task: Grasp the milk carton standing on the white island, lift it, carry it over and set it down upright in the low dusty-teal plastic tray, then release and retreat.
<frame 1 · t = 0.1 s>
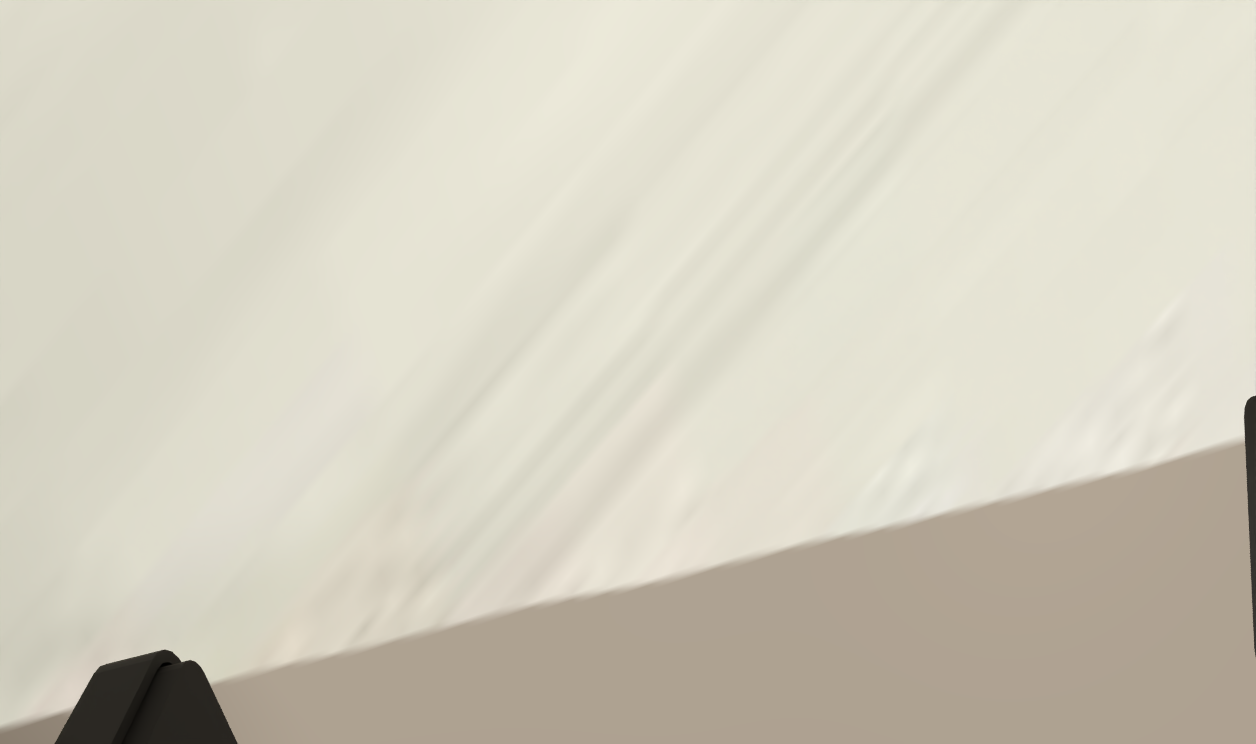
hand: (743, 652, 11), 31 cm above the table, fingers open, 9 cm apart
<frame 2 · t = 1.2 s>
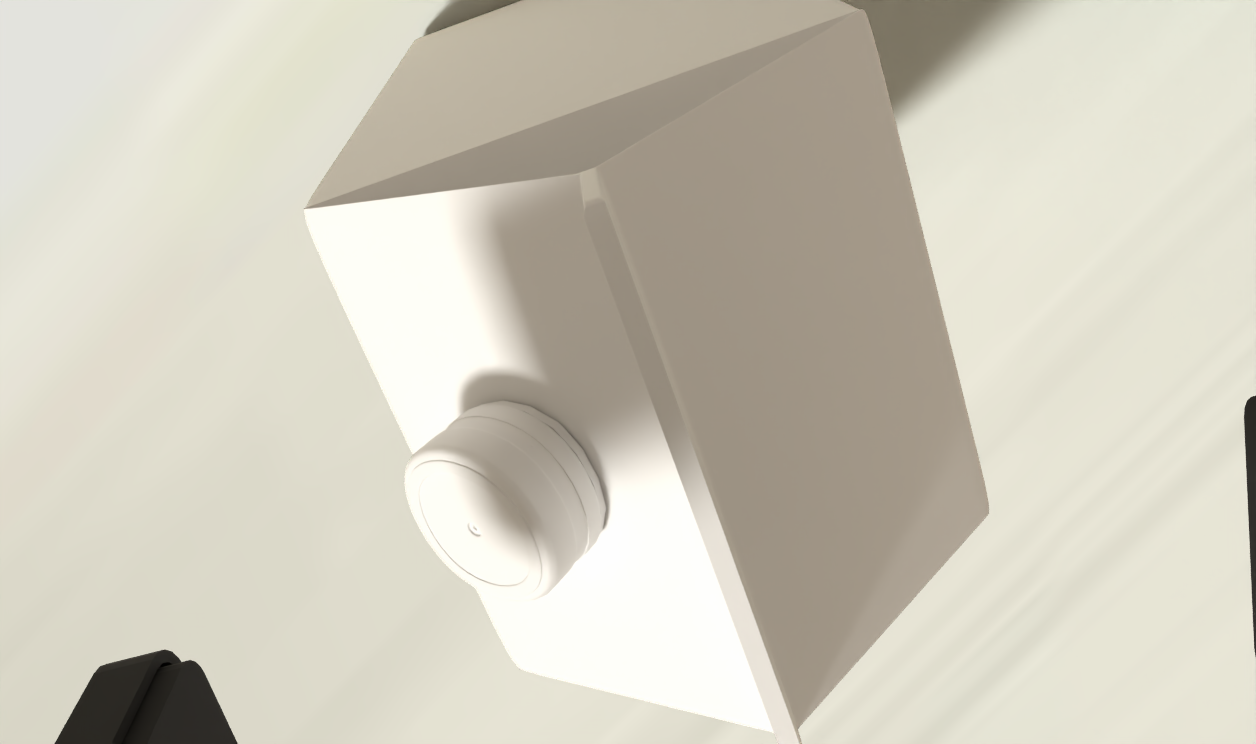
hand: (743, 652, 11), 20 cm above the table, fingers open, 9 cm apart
milk carton: (606, 128, 29), on the table
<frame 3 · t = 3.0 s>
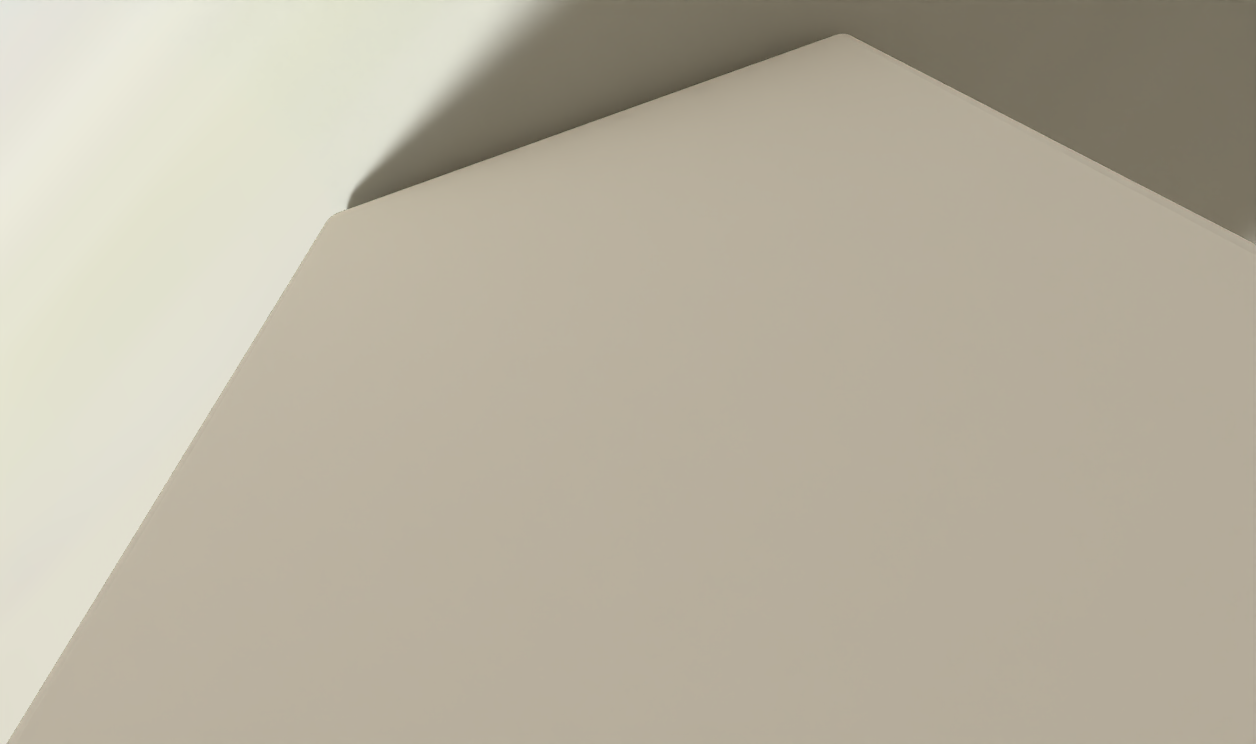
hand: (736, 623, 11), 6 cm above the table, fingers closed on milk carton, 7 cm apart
milk carton: (665, 353, 17), on the table, touching gripper
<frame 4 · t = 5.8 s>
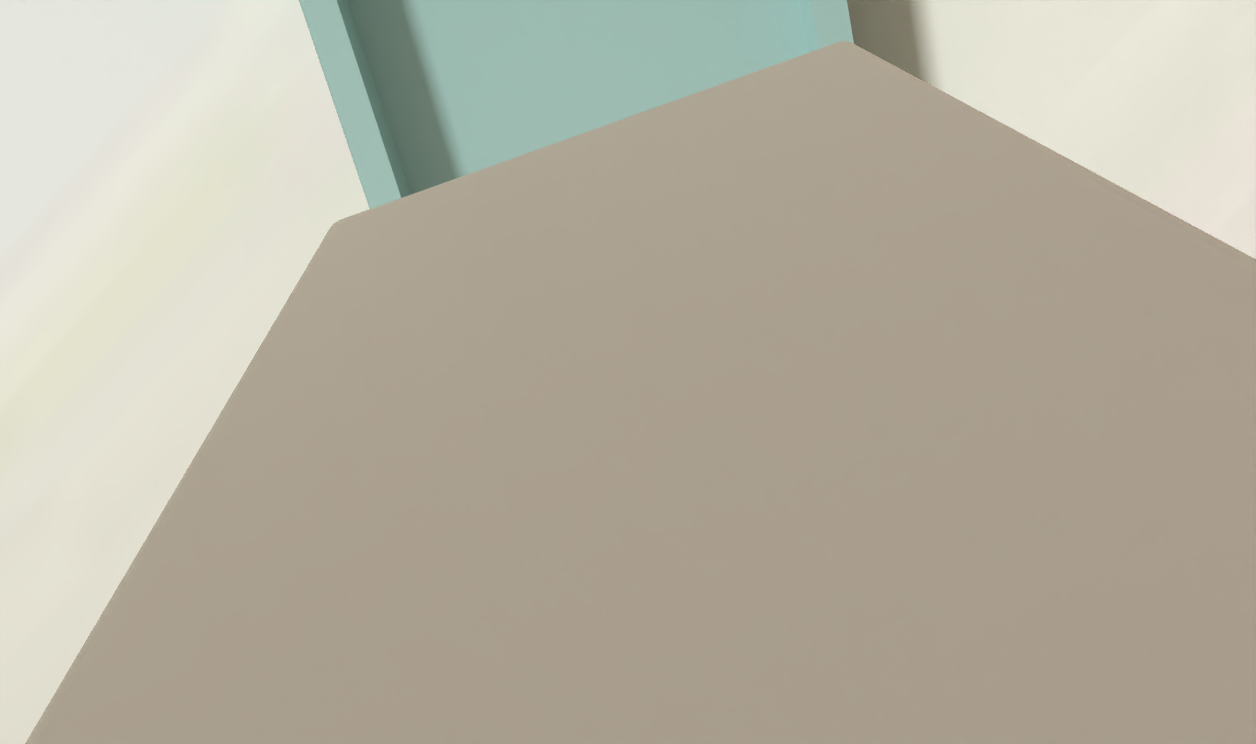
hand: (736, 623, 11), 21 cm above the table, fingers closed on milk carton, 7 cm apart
milk carton: (668, 359, 17), point 15 cm above the table, touching gripper
tray: (613, 145, 31), on the table
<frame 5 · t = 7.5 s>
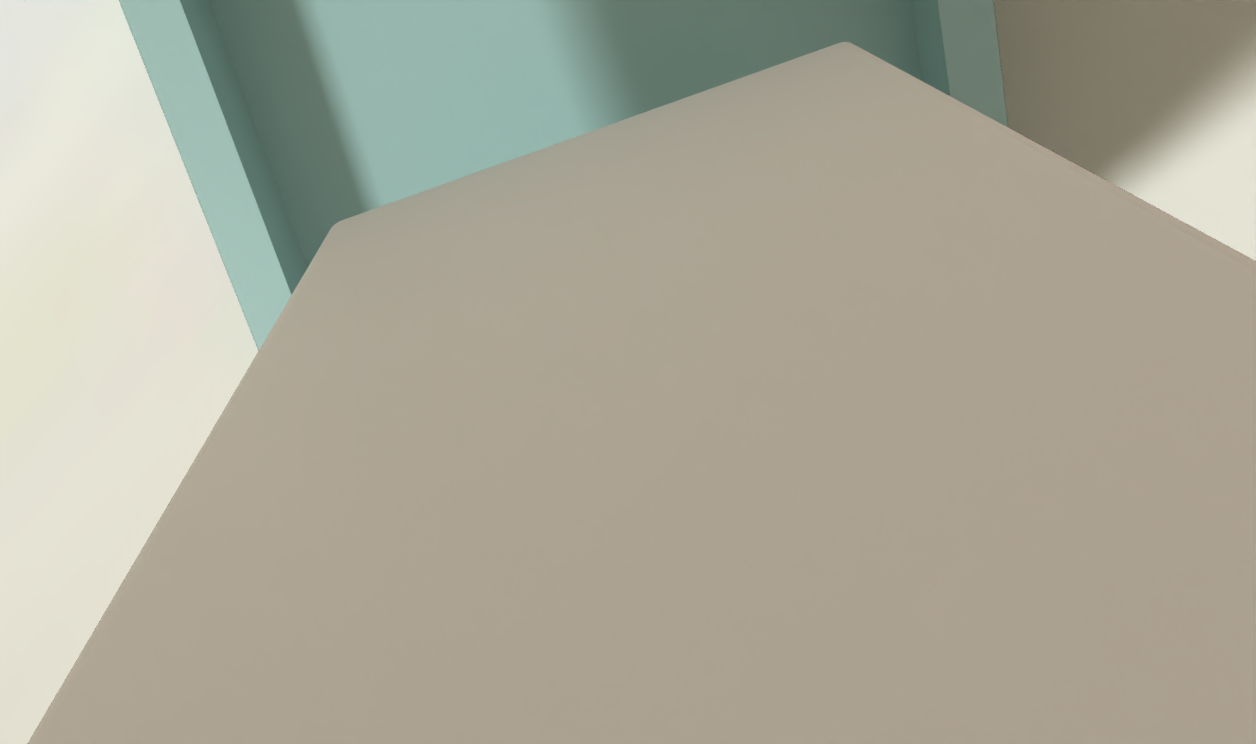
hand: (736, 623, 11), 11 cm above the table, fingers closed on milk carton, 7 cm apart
milk carton: (668, 360, 17), point 4 cm above the table, touching gripper
tray: (633, 260, 21), on the table
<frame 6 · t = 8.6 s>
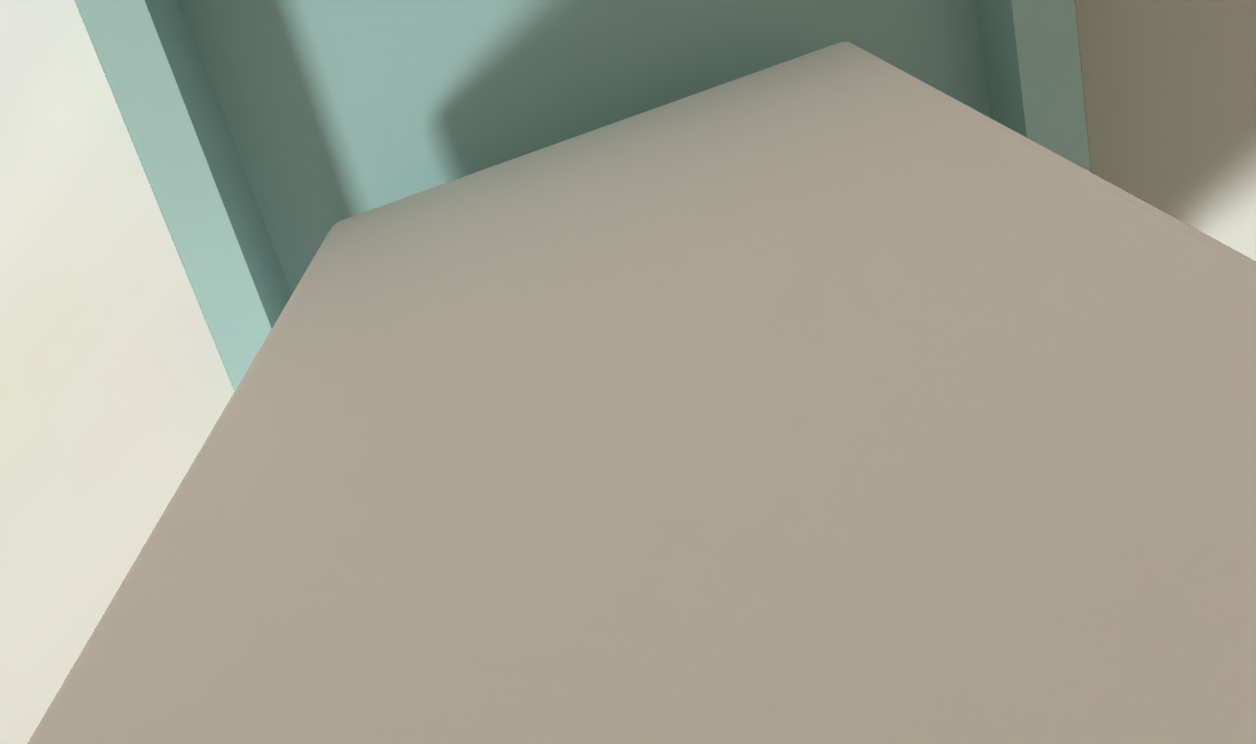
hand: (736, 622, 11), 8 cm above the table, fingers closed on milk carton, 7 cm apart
milk carton: (668, 359, 17), point 2 cm above the table, touching gripper
tray: (665, 320, 19), on the table
when the fingers open (8 cm above the table, at t = 8.6 s): milk carton drops 1 cm, resting on tray.
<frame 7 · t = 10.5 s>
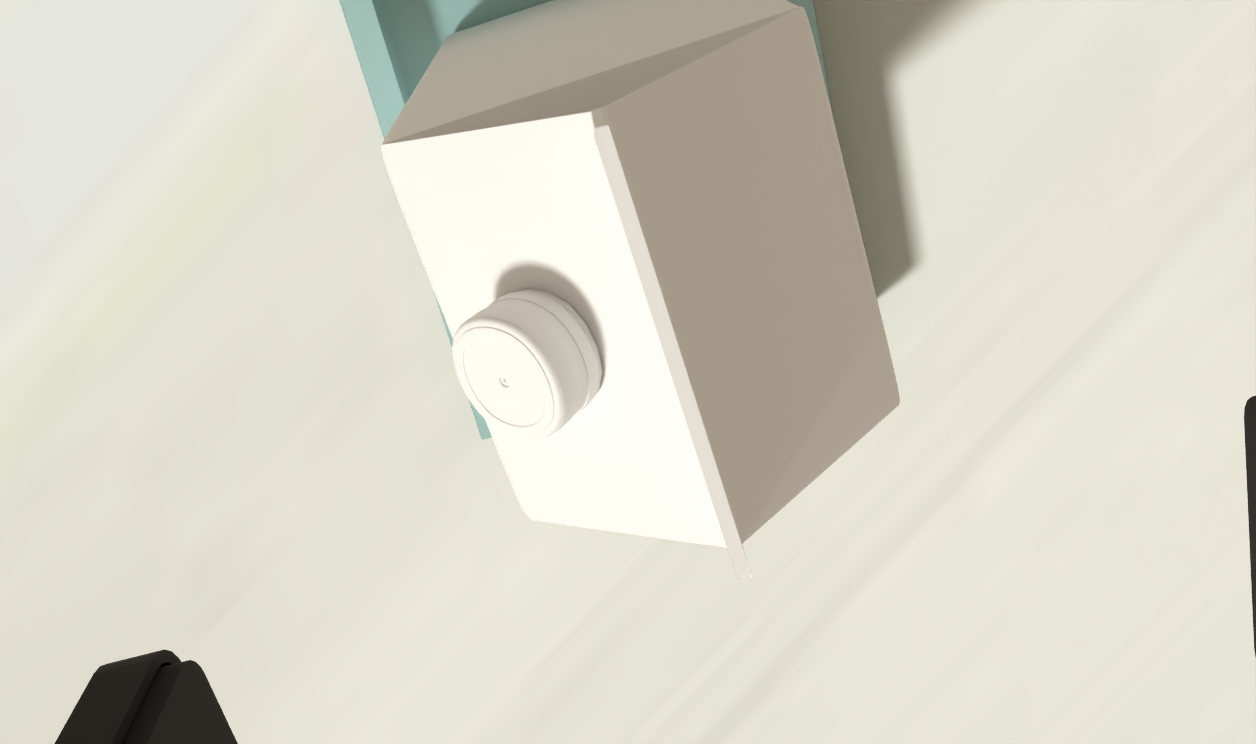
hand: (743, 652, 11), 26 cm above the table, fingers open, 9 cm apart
milk carton: (608, 116, 34), point 1 cm above the table, touching tray
tray: (607, 115, 35), on the table
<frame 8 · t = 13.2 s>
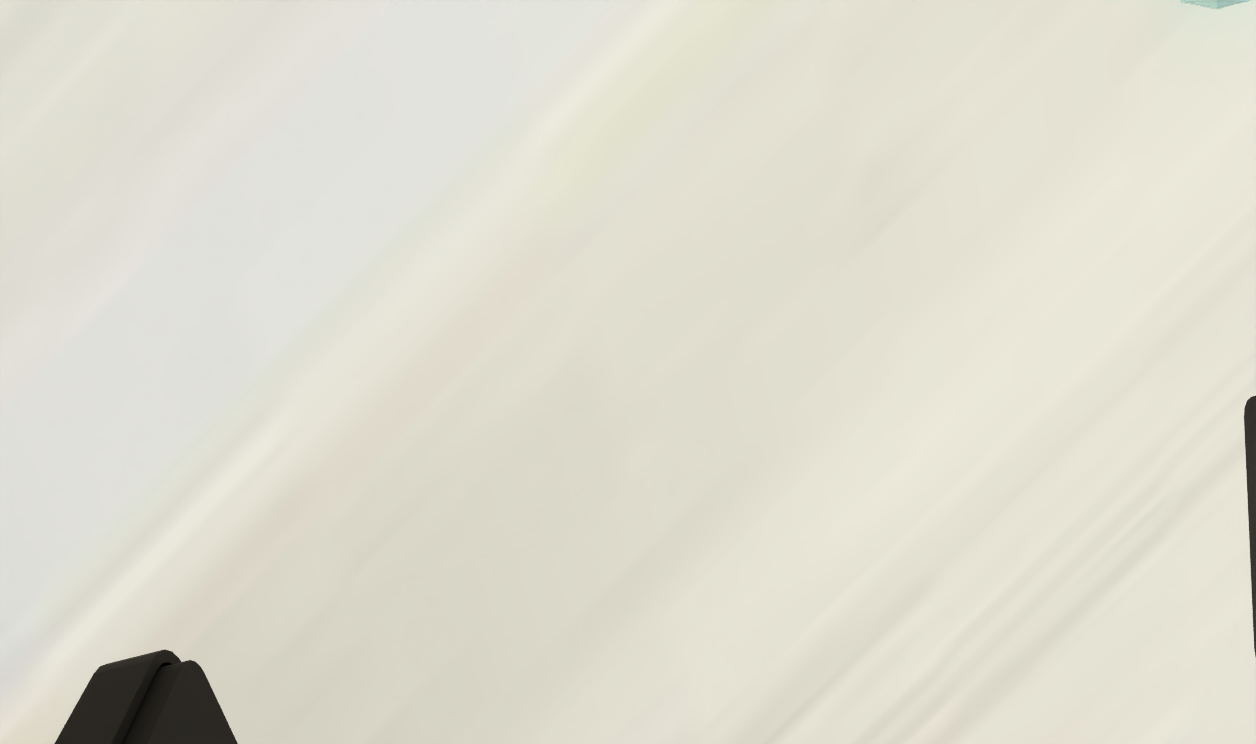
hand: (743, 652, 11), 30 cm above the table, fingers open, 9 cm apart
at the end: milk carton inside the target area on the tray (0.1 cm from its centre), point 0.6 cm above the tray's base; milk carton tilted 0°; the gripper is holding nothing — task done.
